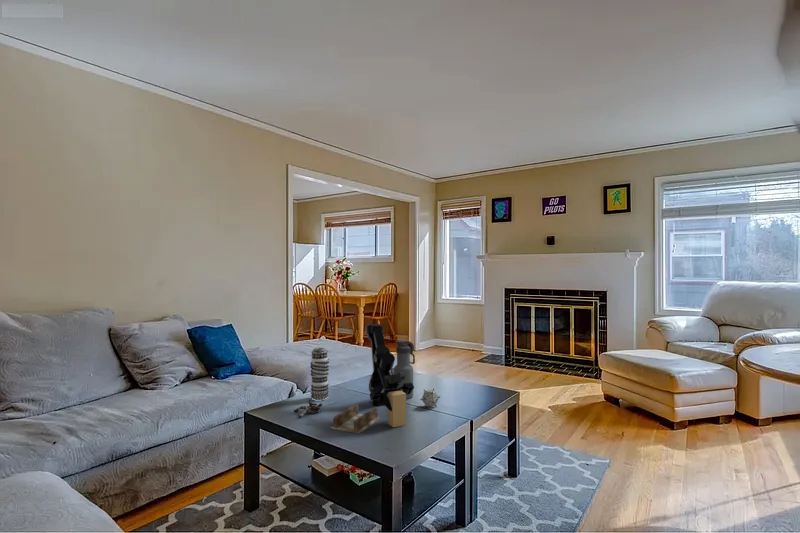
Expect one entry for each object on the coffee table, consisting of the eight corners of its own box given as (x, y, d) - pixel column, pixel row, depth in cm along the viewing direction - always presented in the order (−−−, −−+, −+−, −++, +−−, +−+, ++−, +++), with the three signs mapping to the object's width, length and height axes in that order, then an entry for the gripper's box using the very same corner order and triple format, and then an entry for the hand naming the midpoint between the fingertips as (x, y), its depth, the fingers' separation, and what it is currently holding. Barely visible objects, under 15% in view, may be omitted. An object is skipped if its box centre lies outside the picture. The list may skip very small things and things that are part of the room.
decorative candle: (333, 397, 216) (332, 347, 216) (320, 402, 208) (320, 350, 208) (319, 394, 221) (319, 346, 221) (306, 399, 213) (306, 349, 213)
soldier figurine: (291, 402, 187) (316, 388, 192) (293, 411, 195) (317, 398, 201) (299, 416, 184) (324, 402, 189) (301, 425, 192) (325, 411, 197)
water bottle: (407, 392, 224) (407, 338, 224) (417, 397, 216) (417, 341, 216) (390, 395, 219) (390, 340, 219) (400, 400, 211) (400, 343, 211)
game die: (433, 415, 200) (438, 402, 194) (416, 408, 201) (421, 394, 196) (438, 401, 207) (443, 388, 201) (422, 394, 209) (426, 381, 203)
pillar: (387, 423, 180) (387, 392, 180) (400, 421, 183) (400, 390, 183) (393, 427, 176) (393, 395, 176) (406, 425, 178) (406, 393, 178)
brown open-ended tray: (353, 414, 191) (353, 404, 191) (379, 418, 186) (379, 407, 186) (331, 428, 175) (331, 417, 175) (359, 433, 170) (359, 421, 170)
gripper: (372, 368, 179) (383, 402, 169) (412, 363, 187) (424, 396, 177) (365, 383, 186) (375, 416, 176) (403, 377, 194) (415, 409, 184)
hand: (398, 409), depth 178 cm, fingers closed on pillar, 6 cm apart
